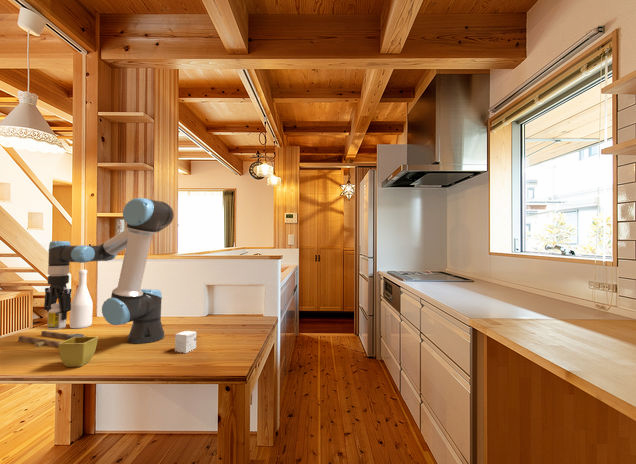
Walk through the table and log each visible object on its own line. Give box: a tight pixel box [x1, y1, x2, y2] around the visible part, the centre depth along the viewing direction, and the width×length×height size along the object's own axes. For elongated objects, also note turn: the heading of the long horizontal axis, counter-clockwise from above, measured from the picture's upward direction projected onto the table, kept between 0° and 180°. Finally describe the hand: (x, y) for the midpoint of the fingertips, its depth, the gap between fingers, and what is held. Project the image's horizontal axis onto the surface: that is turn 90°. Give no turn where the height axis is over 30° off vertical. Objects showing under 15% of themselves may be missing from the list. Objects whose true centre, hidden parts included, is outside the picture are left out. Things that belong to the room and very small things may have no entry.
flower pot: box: [58, 336, 99, 368], centre depth 118 cm, size 9×9×9 cm
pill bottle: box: [47, 302, 66, 331], centre depth 144 cm, size 6×6×11 cm
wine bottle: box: [69, 269, 94, 329], centre depth 170 cm, size 10×10×30 cm
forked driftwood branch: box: [17, 330, 88, 348], centre depth 144 cm, size 32×15×4 cm, turn 73°
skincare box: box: [174, 330, 197, 354], centre depth 135 cm, size 6×6×7 cm
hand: (56, 326), depth 144 cm, fingers closed on pill bottle, 6 cm apart
